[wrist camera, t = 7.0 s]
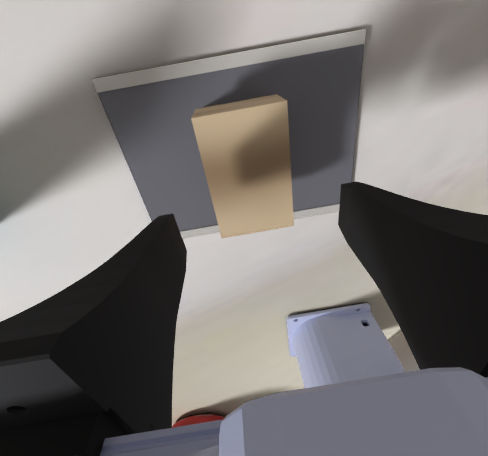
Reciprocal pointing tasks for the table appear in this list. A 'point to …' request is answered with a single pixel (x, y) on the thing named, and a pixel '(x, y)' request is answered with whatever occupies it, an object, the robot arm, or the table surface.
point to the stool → (247, 163)
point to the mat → (233, 90)
